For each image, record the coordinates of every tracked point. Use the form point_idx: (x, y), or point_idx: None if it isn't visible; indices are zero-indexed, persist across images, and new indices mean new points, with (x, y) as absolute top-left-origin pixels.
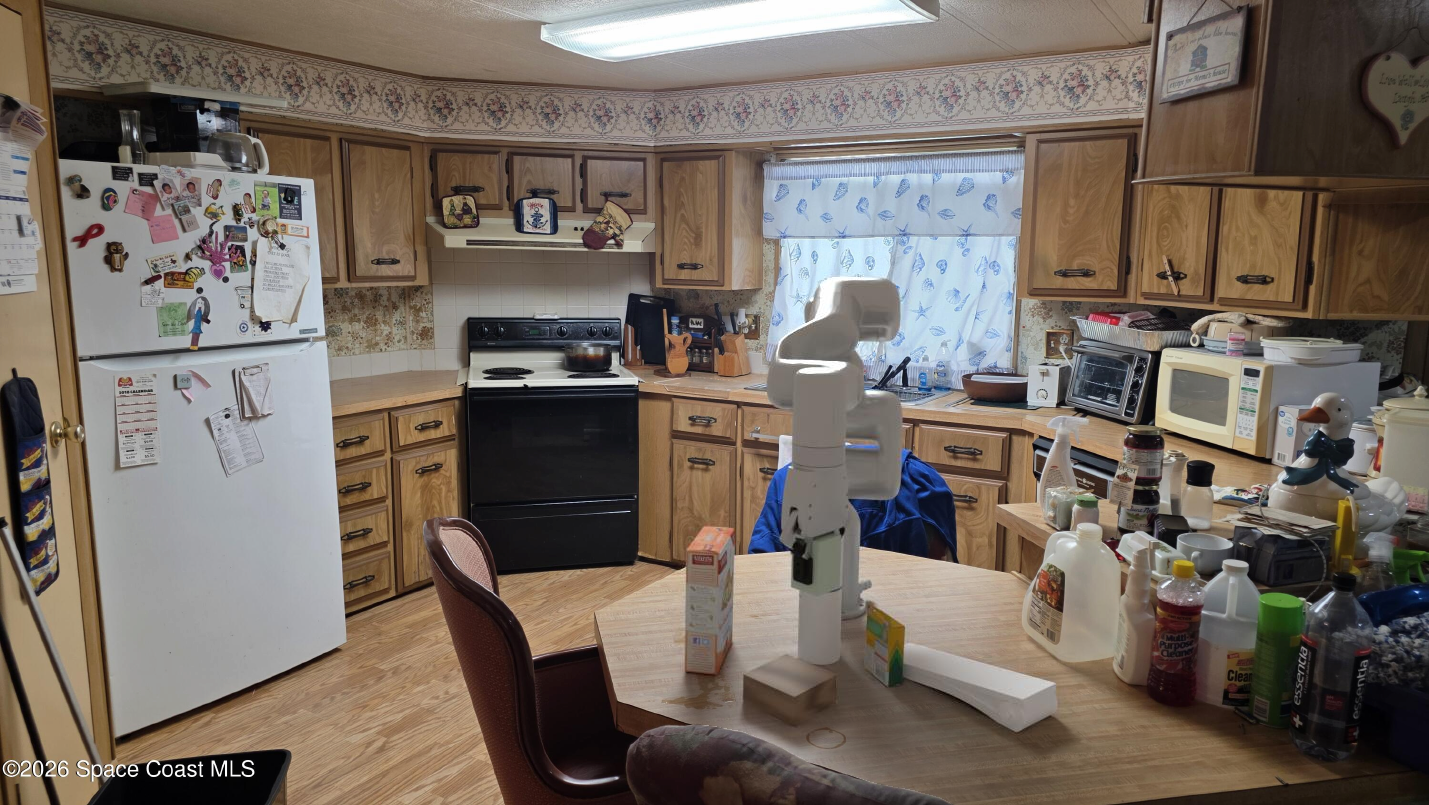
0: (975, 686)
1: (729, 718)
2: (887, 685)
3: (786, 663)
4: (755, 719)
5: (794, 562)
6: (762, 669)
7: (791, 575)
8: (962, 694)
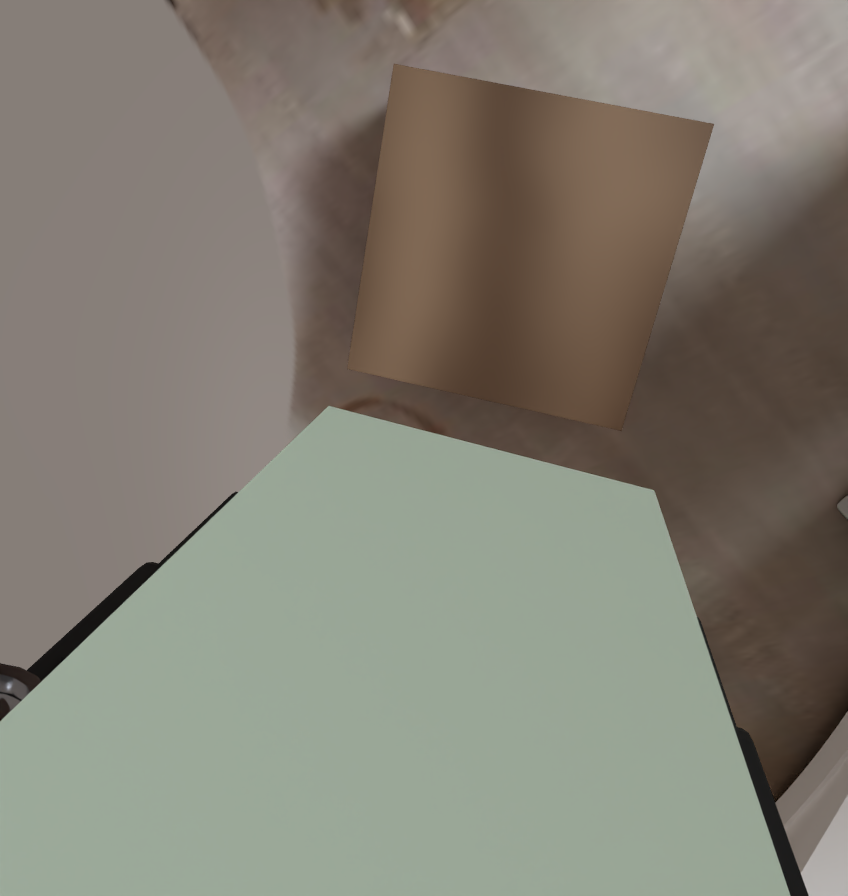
0: (815, 841)
1: (293, 110)
2: (838, 508)
3: (610, 183)
4: (345, 199)
5: (56, 647)
6: (488, 117)
7: (285, 448)
8: (828, 763)
